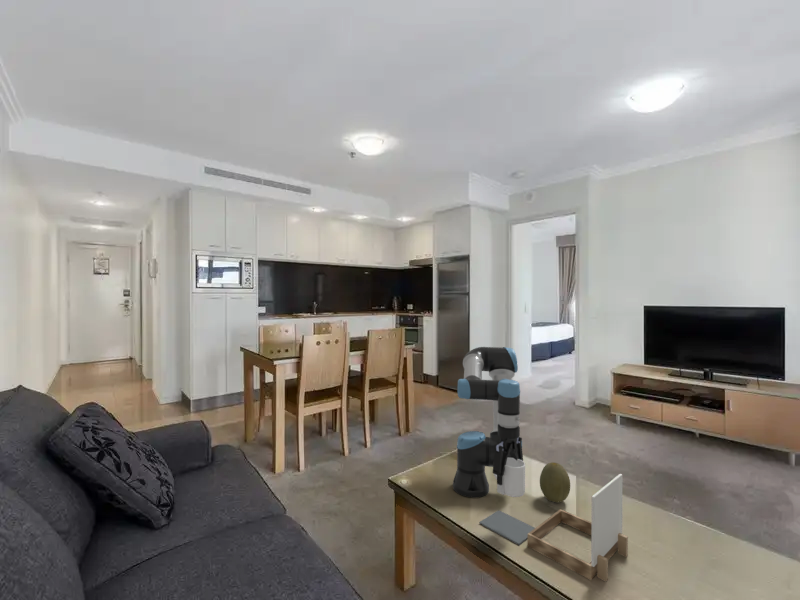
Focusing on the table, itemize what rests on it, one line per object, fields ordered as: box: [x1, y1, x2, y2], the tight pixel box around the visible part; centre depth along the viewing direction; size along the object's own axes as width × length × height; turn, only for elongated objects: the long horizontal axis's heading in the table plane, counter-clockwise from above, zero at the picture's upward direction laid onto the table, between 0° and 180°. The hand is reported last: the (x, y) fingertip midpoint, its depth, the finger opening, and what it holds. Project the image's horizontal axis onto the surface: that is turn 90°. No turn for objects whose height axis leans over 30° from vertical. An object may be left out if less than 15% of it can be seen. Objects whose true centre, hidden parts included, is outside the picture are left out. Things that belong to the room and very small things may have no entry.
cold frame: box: [526, 509, 618, 581], centre depth 124 cm, size 20×23×4 cm
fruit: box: [539, 461, 571, 503], centre depth 153 cm, size 11×11×15 cm
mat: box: [478, 509, 536, 546], centre depth 135 cm, size 16×12×1 cm
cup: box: [493, 458, 526, 498], centre depth 135 cm, size 8×12×10 cm
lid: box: [590, 473, 629, 582], centre depth 116 cm, size 3×22×24 cm, turn 131°
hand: (508, 488), depth 135 cm, fingers closed on cup, 8 cm apart
